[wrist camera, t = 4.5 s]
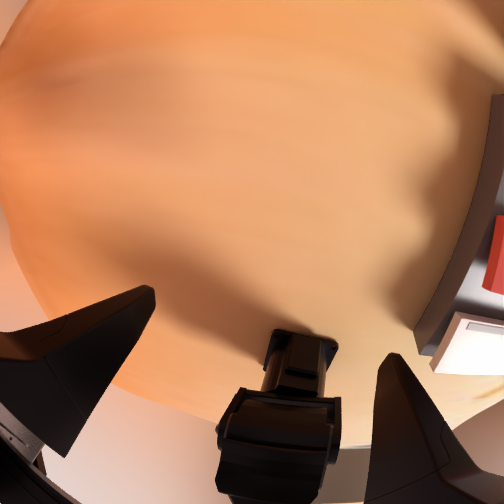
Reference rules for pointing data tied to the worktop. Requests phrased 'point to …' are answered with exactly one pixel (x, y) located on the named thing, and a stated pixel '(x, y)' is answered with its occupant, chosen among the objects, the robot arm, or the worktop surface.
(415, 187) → the worktop surface
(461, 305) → the rocker switch panel
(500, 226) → the rocker red
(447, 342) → the plate
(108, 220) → the worktop surface
